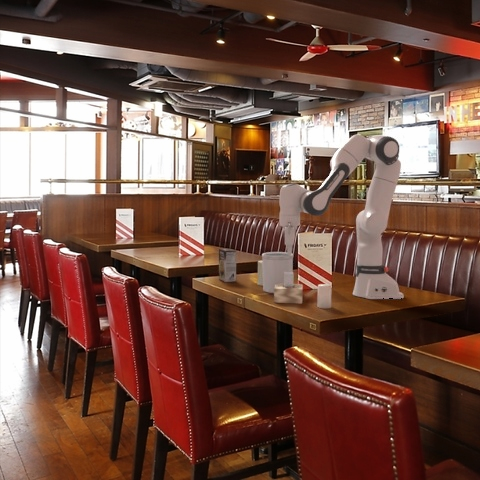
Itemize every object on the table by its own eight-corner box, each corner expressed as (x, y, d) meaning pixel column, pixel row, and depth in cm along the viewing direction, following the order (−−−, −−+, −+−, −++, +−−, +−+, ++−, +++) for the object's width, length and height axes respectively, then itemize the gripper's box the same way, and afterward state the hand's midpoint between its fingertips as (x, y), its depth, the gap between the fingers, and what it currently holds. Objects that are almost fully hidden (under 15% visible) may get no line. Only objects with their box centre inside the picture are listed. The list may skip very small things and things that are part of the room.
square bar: (293, 299, 241) (293, 272, 240) (292, 301, 237) (293, 273, 236) (283, 298, 242) (284, 271, 240) (283, 300, 238) (284, 273, 236)
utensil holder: (265, 294, 251) (266, 256, 249) (258, 287, 266) (258, 252, 264) (296, 293, 254) (297, 255, 252) (287, 287, 269) (288, 251, 267)
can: (276, 286, 271) (276, 262, 269) (257, 285, 271) (257, 261, 270) (275, 282, 280) (275, 259, 279) (257, 282, 280) (257, 259, 279)
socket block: (302, 297, 245) (302, 284, 244) (302, 303, 233) (302, 289, 232) (275, 296, 246) (275, 283, 245) (273, 302, 234) (274, 288, 233)
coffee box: (218, 279, 288) (218, 248, 287) (229, 278, 291) (229, 248, 289) (225, 282, 280) (225, 250, 278) (236, 281, 283) (236, 250, 281)
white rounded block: (330, 305, 229) (331, 284, 228) (331, 308, 224) (331, 286, 223) (317, 305, 230) (317, 283, 229) (317, 308, 224) (317, 286, 223)
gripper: (296, 223, 225) (296, 256, 227) (297, 219, 245) (297, 250, 247) (281, 223, 226) (281, 256, 227) (283, 219, 246) (283, 250, 248)
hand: (289, 253), depth 237 cm, fingers open, 8 cm apart
